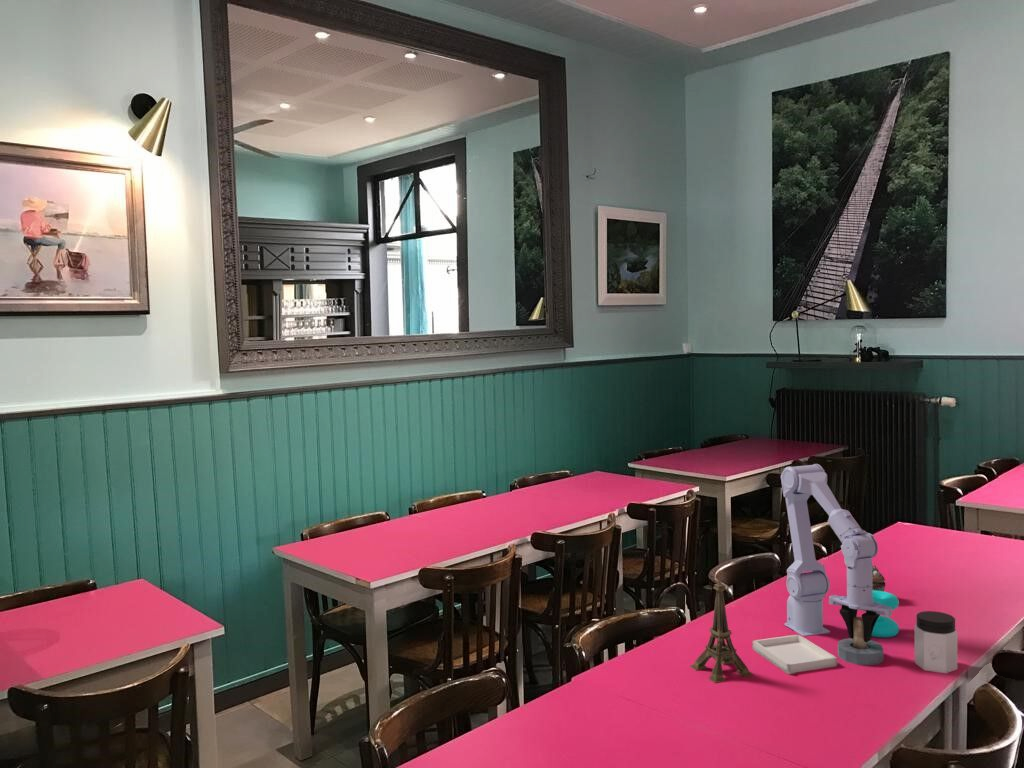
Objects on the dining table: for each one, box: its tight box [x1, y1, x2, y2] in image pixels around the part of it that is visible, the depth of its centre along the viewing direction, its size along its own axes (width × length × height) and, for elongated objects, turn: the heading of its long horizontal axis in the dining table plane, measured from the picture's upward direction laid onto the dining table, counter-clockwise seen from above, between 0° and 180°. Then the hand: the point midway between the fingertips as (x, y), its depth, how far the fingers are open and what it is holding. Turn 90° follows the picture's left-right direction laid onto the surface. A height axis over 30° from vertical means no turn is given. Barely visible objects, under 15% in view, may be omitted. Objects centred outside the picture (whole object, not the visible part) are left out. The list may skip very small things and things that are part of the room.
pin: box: [853, 616, 867, 650], centre depth 202 cm, size 3×3×8 cm
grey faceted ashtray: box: [837, 637, 884, 666], centre depth 202 cm, size 10×10×3 cm
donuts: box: [871, 590, 900, 638], centre depth 218 cm, size 10×10×10 cm
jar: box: [914, 610, 958, 674], centre depth 195 cm, size 9×8×12 cm
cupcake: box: [872, 565, 887, 592], centre depth 244 cm, size 10×10×10 cm
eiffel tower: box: [689, 571, 754, 684], centre depth 197 cm, size 11×11×25 cm
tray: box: [752, 633, 838, 675], centre depth 203 cm, size 16×13×2 cm
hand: (860, 638), depth 202 cm, fingers closed on pin, 3 cm apart
